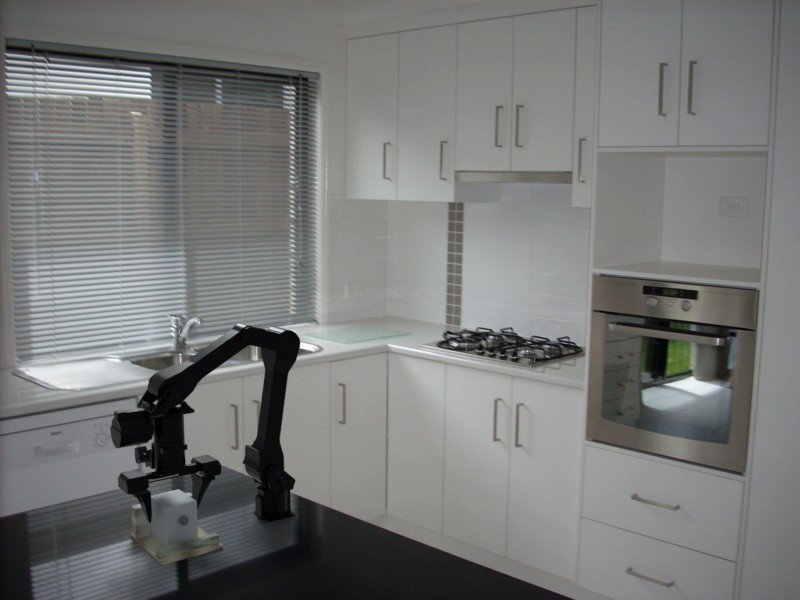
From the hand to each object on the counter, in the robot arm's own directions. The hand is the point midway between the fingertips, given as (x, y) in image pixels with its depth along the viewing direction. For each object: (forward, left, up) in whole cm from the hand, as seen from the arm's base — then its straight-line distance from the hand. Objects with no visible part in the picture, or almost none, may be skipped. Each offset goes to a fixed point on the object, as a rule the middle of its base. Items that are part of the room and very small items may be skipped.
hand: (172, 516), depth 165 cm
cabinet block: (0, 0, -4) cm, 4 cm away
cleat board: (0, +1, -5) cm, 5 cm away
